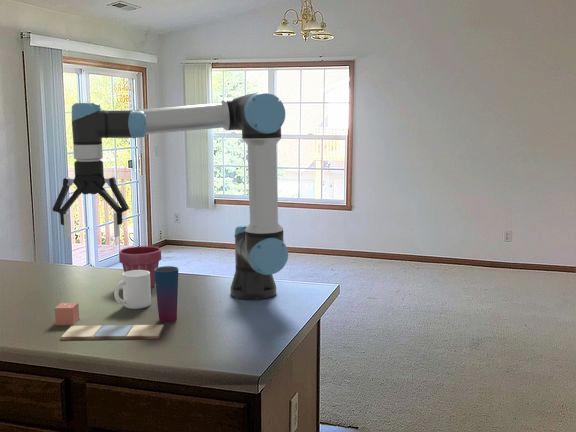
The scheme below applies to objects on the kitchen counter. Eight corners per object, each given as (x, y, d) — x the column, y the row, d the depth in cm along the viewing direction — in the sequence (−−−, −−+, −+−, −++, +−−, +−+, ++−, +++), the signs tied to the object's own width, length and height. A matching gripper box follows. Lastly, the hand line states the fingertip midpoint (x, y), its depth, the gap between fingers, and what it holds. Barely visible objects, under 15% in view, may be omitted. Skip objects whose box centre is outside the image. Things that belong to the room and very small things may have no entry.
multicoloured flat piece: (164, 327, 170) (164, 324, 170) (158, 338, 161) (158, 335, 161) (71, 328, 169) (71, 325, 169) (60, 339, 161) (60, 336, 160)
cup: (156, 324, 173) (155, 272, 170) (155, 317, 179) (153, 267, 177) (181, 322, 174) (179, 270, 172) (178, 315, 181) (177, 265, 179)
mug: (122, 314, 182) (121, 280, 180) (107, 308, 188) (106, 275, 186) (156, 305, 191) (155, 272, 189) (141, 299, 196) (139, 268, 195)
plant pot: (127, 280, 220) (126, 245, 218) (166, 280, 220) (165, 245, 218) (114, 291, 206) (113, 254, 204) (156, 291, 205) (155, 254, 203)
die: (79, 319, 177) (78, 302, 177) (73, 325, 172) (72, 307, 172) (61, 319, 177) (60, 302, 176) (55, 325, 172) (54, 307, 172)
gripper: (137, 159, 172) (140, 233, 175) (47, 159, 171) (51, 234, 175) (131, 160, 165) (134, 238, 168) (37, 161, 164) (42, 239, 167)
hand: (92, 236), depth 171 cm, fingers open, 13 cm apart
